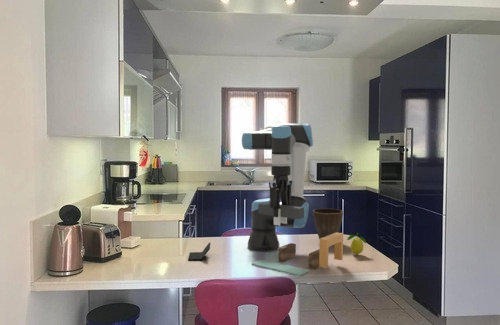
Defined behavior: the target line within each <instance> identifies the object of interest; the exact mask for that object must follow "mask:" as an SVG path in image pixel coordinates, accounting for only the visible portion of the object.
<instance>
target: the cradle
mask: <svg viewBox="0 0 500 325" xmlns="http://www.w3.org/2000/svg"><path fill="white" fill-rule="evenodd" d="M277 250H278V252H277V253H278V255H277V259H278V260H277V261H278V262H277V263H281V264H283V263H286V262H289V261H292V260H294V259H296V258H297V257H296V256H297V244H296V243H292V242H290V243H287V244H284V245H281V246H279V248H278V249H277ZM319 250H320V248H319V249H317V250H316V249H315V250H313V251H312V252H309V253H308V266H307V268H308V270H316V269H318V268H320V267H319Z"/></svg>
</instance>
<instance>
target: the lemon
mask: <svg viewBox="0 0 500 325" xmlns="http://www.w3.org/2000/svg"><path fill="white" fill-rule="evenodd" d="M358 235H359V234H358V232H357V233H356V235H355V234H350V235H349V236H348V237H347V241H349V240H351V239H352V240H351V243H350V250H351V253H353V254H355V255H356V256H358V255H359V254H361V253H363V251H364V244H367V241H366V239H365V238H364V237H362V236H358ZM355 237H356V238H355Z"/></svg>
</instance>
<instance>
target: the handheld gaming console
mask: <svg viewBox="0 0 500 325" xmlns="http://www.w3.org/2000/svg"><path fill="white" fill-rule="evenodd" d="M210 250H211V242H208V243H207V245H206V246H205V247H204V249H203V250H202V251H198V252H197V251H195V252H193V251H192V252H189V255H188V258H187V261H188V262H189V261H190V262H196V261H197V262H200V261H201V262H202V261H203V258H205V257H206V254H207V253H208V252H209V251H210Z"/></svg>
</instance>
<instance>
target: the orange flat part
mask: <svg viewBox="0 0 500 325" xmlns="http://www.w3.org/2000/svg"><path fill="white" fill-rule="evenodd" d="M332 246H334V248H333V250H334V255H333V256H334V258H333V259H334V260H337V261H342V260H344V256H343V255H344V251H343V250H344V233H343V232H339V233H338V232H336V233H333V234H331V235H328V236H326V237H323V238H320V239H319V249H320V250H319V267H318V268H324V269H327V268H329V247H332Z"/></svg>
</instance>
